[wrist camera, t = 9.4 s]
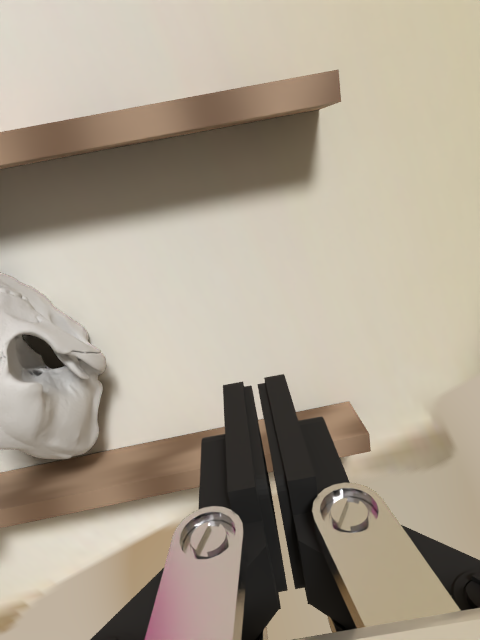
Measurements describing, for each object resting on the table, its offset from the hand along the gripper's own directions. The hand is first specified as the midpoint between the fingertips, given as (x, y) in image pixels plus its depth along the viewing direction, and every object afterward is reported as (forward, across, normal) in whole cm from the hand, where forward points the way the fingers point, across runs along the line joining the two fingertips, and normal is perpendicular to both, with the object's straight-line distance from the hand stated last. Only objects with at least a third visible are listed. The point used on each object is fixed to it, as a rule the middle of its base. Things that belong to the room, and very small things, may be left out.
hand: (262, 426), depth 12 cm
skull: (+13, +12, +1) cm, 18 cm away
